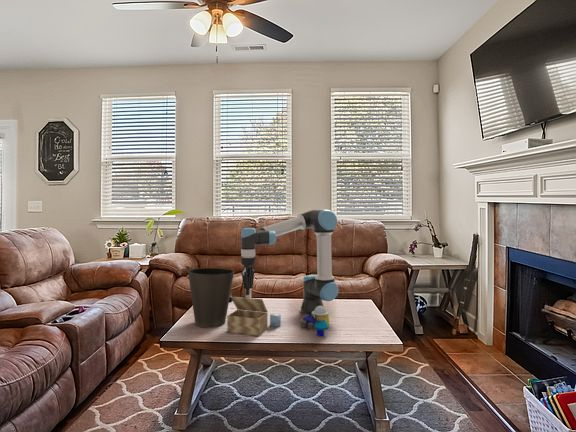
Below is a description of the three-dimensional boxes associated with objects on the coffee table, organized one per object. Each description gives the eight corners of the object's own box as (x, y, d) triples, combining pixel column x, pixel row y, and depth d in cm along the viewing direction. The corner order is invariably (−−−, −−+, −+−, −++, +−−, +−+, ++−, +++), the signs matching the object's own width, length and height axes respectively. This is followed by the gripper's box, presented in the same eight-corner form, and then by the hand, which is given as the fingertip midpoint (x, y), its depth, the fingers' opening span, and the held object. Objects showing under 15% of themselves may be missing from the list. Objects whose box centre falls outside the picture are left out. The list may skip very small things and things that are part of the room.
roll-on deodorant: (282, 324, 206) (282, 313, 206) (278, 327, 201) (278, 316, 200) (272, 323, 208) (272, 312, 208) (268, 326, 202) (268, 315, 202)
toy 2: (310, 331, 194) (310, 303, 194) (326, 331, 195) (327, 303, 194) (313, 337, 186) (313, 308, 185) (330, 337, 186) (330, 308, 186)
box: (267, 329, 198) (267, 312, 198) (258, 336, 187) (258, 319, 187) (237, 325, 204) (237, 309, 204) (227, 332, 192) (227, 315, 192)
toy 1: (317, 335, 195) (333, 324, 205) (315, 323, 194) (332, 312, 204) (298, 329, 205) (315, 318, 215) (296, 317, 204) (313, 307, 214)
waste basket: (239, 319, 215) (239, 268, 214) (227, 331, 195) (226, 275, 194) (197, 316, 221) (196, 267, 220) (180, 327, 201) (180, 273, 200)
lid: (267, 312, 198) (267, 311, 199) (261, 300, 190) (262, 298, 191) (237, 309, 204) (237, 308, 204) (230, 297, 196) (231, 295, 196)
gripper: (246, 254, 202) (247, 296, 203) (236, 258, 190) (236, 303, 191) (259, 255, 200) (259, 298, 201) (249, 258, 188) (249, 304, 189)
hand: (248, 300), depth 196 cm, fingers closed
